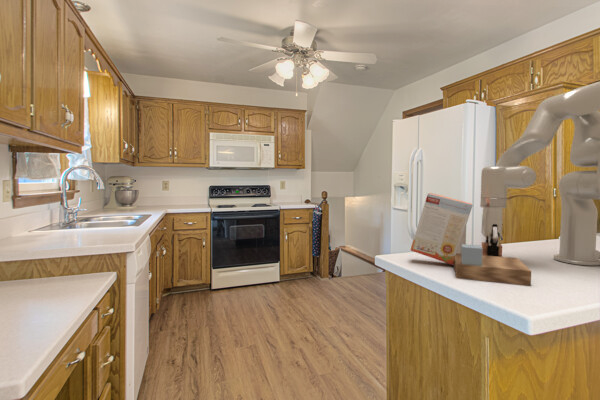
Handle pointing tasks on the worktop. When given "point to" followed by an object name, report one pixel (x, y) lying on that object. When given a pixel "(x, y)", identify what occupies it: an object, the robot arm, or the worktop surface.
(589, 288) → the worktop surface
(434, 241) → the cracker box
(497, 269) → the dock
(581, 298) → the worktop surface
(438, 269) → the worktop surface
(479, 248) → the grey-blue cube
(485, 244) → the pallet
